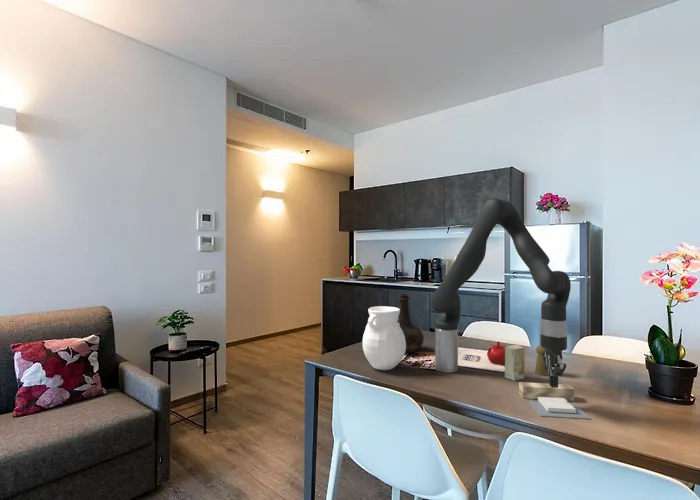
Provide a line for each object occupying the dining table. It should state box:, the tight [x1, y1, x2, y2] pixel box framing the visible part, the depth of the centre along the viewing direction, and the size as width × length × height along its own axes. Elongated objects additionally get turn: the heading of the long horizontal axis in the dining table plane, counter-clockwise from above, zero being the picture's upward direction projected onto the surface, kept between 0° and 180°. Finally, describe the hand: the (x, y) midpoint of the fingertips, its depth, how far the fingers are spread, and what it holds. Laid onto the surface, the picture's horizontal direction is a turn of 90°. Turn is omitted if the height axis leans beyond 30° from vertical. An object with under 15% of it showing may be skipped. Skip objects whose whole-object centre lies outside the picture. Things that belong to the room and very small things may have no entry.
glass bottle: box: [397, 293, 425, 354], centre depth 177 cm, size 18×18×28 cm
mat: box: [528, 400, 592, 420], centre depth 111 cm, size 14×10×1 cm
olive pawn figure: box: [534, 345, 549, 377], centre depth 144 cm, size 6×6×11 cm
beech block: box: [518, 381, 575, 402], centre depth 121 cm, size 16×4×4 cm, turn 82°
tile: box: [537, 397, 576, 413], centre depth 113 cm, size 8×3×8 cm
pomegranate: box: [486, 341, 508, 366], centre depth 158 cm, size 10×10×9 cm
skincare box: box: [504, 344, 525, 382], centre depth 139 cm, size 6×4×12 cm
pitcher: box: [361, 305, 406, 371], centre depth 153 cm, size 19×18×25 cm
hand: (553, 386), depth 115 cm, fingers closed
